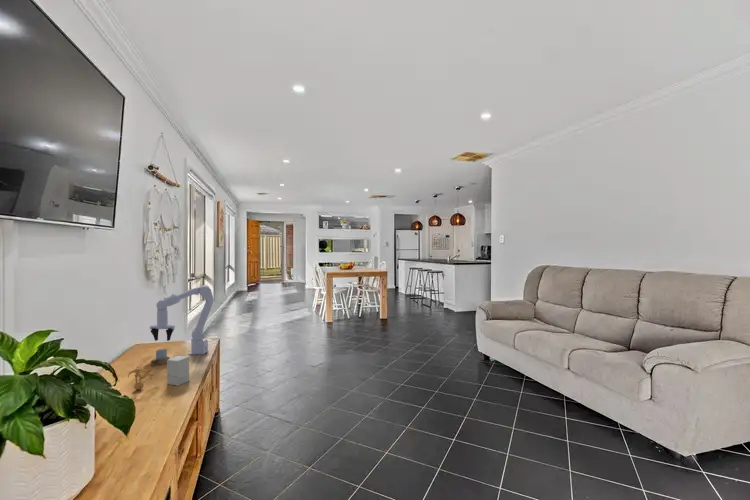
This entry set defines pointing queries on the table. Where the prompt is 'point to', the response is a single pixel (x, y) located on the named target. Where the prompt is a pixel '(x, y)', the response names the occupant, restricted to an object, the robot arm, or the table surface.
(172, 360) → the supplement box
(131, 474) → the table surface
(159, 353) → the blue block
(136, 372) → the figurine
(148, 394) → the table surface
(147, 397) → the table surface
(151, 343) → the table surface
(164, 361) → the walnut pedestal
